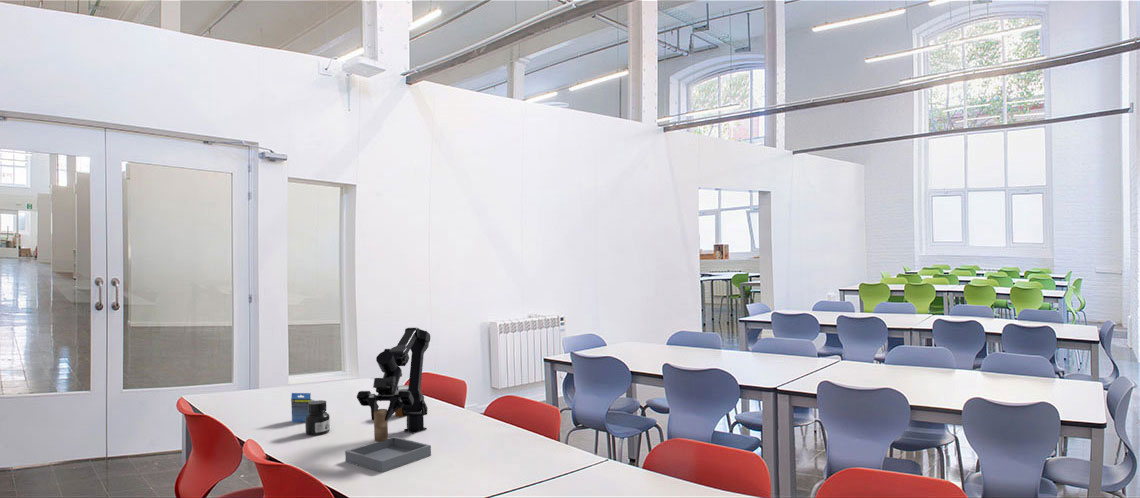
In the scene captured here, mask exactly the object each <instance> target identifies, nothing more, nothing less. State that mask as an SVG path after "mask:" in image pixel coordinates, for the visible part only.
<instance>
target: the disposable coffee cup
mask: <svg viewBox="0 0 1140 498" xmlns="http://www.w3.org/2000/svg"><path fill="white" fill-rule="evenodd" d="M398 387H399V388H398V390H396V394H395V395H398V393H399V391H407V390H408V388H409V384H408V385H406V384H402V385H398ZM394 414H395V417H397V418H404V417H406V416H403V414H402V408H399V409H398V410H397V411H396V412H395V413H394Z"/></svg>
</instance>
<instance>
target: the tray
mask: <svg viewBox="0 0 1140 498" xmlns="http://www.w3.org/2000/svg"><path fill="white" fill-rule="evenodd" d="M344 453H345V454H344V455H345V457H344V458H345V461H344V462H346V461H347V463H349V462H350V464H352V463H353V465H356V464H357V465H356V466H359V465H360V467H363V468H366V469H369V470H370V469H371V470H373V471H376V472H380V473H386V472H389V471H390V470H394V469H397V468H399V467H402V466H405V465H409V464H410V463H414V462H417V461H419V460H422V459H426V458H428V457H431V456H432V445H431V444H428V443H427V444H426V443H423V442H419V441H413V440H410V439H406V438H402V437H397V436H391V437H388V440H386V441H382V442H376V441H374V442H370V443H367V444H365V445H361V446H357V447H355V448H351V449H348V450H345V451H344Z"/></svg>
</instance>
